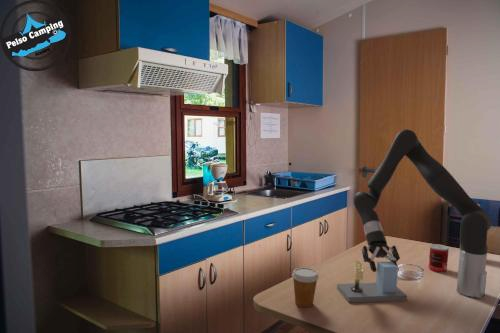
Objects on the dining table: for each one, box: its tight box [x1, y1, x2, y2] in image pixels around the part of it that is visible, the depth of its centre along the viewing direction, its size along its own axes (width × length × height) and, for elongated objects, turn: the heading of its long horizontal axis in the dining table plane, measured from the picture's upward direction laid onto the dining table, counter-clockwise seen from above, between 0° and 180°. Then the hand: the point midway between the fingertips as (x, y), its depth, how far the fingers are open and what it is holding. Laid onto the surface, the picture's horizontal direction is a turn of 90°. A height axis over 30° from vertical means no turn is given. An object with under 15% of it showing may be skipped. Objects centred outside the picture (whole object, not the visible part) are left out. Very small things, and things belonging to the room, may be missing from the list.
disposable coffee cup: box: [291, 267, 320, 308], centre depth 142 cm, size 10×10×12 cm
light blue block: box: [375, 261, 399, 292], centre depth 152 cm, size 6×6×10 cm
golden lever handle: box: [353, 260, 364, 289], centre depth 146 cm, size 11×2×11 cm, turn 168°
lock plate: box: [336, 282, 408, 303], centre depth 152 cm, size 23×12×4 cm, turn 97°
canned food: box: [428, 243, 449, 273], centre depth 180 cm, size 8×8×11 cm
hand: (385, 271), depth 154 cm, fingers open, 8 cm apart
